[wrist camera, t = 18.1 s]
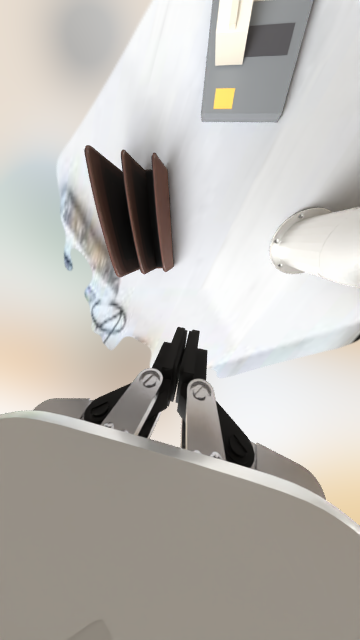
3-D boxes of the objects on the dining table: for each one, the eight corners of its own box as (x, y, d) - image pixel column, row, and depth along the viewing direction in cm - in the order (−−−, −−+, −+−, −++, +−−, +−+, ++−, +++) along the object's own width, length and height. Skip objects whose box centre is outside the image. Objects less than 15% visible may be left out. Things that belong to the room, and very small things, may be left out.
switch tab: (251, 12, 20) (261, -45, 16) (242, 64, 22) (248, 25, 18) (221, 15, 20) (223, -40, 16) (215, 65, 22) (215, 27, 18)
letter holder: (140, 268, 42) (111, 279, 30) (125, 175, 32) (73, 137, 20) (174, 267, 40) (157, 279, 28) (168, 168, 31) (139, 122, 18)
